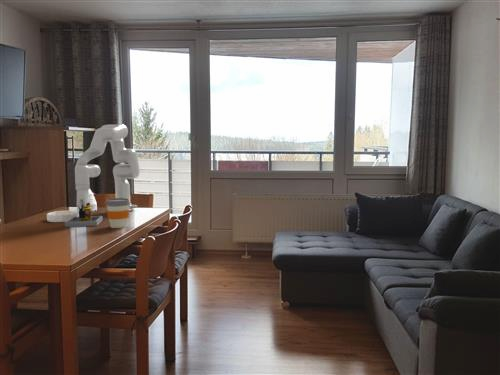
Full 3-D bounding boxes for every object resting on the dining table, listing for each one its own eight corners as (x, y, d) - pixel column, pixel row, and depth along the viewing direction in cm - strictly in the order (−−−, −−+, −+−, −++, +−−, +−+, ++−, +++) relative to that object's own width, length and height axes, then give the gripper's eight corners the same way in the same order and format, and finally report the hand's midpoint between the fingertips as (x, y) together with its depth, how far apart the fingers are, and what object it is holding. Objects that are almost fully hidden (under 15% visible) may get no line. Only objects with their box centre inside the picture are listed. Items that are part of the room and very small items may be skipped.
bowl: (81, 216, 264) (81, 210, 263) (74, 221, 247) (74, 214, 247) (52, 217, 261) (52, 211, 261) (43, 222, 244) (43, 215, 244)
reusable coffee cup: (106, 229, 224) (105, 201, 222) (107, 224, 236) (106, 198, 234) (130, 227, 227) (129, 200, 225) (130, 223, 239) (129, 197, 237)
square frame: (102, 220, 251) (102, 216, 250) (97, 225, 234) (96, 221, 234) (73, 221, 248) (72, 217, 248) (65, 226, 231) (64, 222, 231)
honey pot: (72, 211, 282) (71, 185, 280) (85, 208, 295) (84, 183, 293) (88, 212, 279) (87, 185, 277) (101, 209, 291) (99, 183, 289)
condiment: (90, 224, 238) (89, 203, 237) (75, 225, 237) (74, 204, 235) (93, 222, 245) (92, 201, 244) (78, 222, 244) (77, 202, 243)
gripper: (79, 185, 246) (80, 214, 248) (71, 188, 229) (73, 219, 231) (92, 185, 248) (94, 213, 249) (86, 188, 231) (87, 218, 232)
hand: (84, 216), depth 240 cm, fingers open, 9 cm apart
